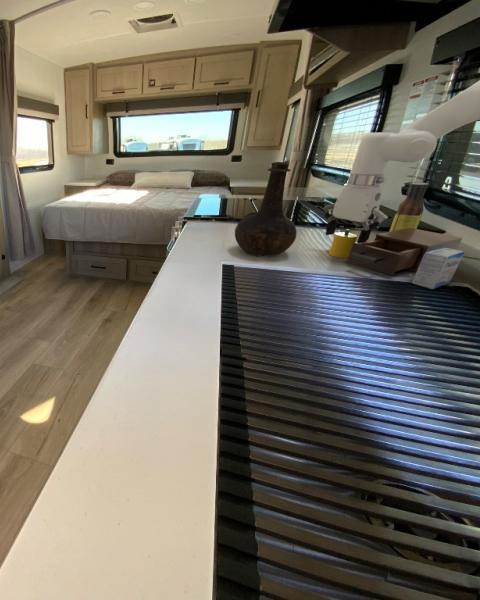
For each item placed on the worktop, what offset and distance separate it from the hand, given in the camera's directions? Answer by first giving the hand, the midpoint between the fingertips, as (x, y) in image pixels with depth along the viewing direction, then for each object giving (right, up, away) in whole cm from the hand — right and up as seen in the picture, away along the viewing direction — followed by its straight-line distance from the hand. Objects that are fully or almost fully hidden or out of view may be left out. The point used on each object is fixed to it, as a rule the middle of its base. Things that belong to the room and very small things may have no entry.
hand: (344, 238), depth 103 cm
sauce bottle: (+24, -1, +9) cm, 26 cm away
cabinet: (+16, -7, -4) cm, 18 cm away
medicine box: (+7, -15, -18) cm, 25 cm away
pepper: (0, -5, +3) cm, 6 cm away
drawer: (+3, -9, -8) cm, 13 cm away
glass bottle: (-22, -3, +8) cm, 24 cm away
